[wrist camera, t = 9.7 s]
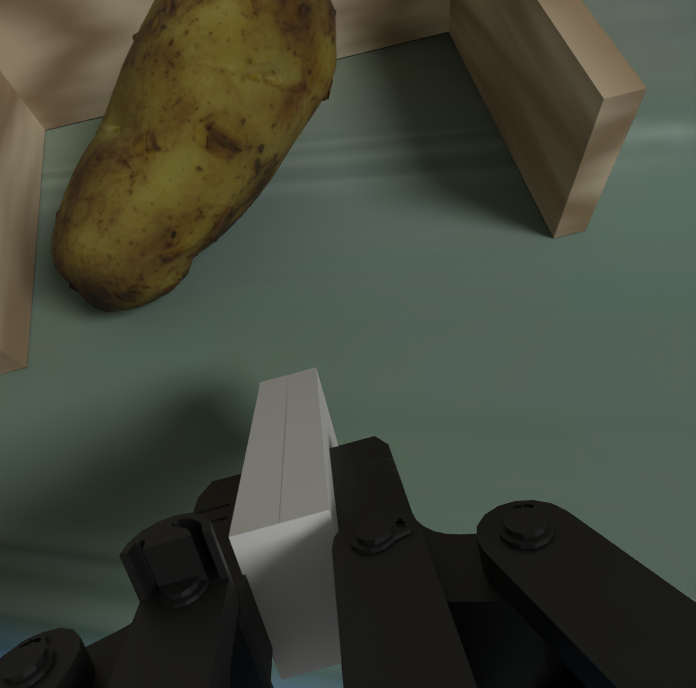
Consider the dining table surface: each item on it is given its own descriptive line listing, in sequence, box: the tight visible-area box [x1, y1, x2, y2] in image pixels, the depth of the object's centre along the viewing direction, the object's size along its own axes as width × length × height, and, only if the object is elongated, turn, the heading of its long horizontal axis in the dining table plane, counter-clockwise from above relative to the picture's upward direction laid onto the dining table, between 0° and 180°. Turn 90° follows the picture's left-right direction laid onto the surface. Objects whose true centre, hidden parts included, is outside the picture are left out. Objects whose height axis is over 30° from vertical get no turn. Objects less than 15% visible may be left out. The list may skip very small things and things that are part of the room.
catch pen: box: [0, 0, 647, 374], centre depth 21 cm, size 22×14×6 cm, turn 102°
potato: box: [52, 0, 337, 312], centre depth 19 cm, size 8×13×8 cm, turn 125°
